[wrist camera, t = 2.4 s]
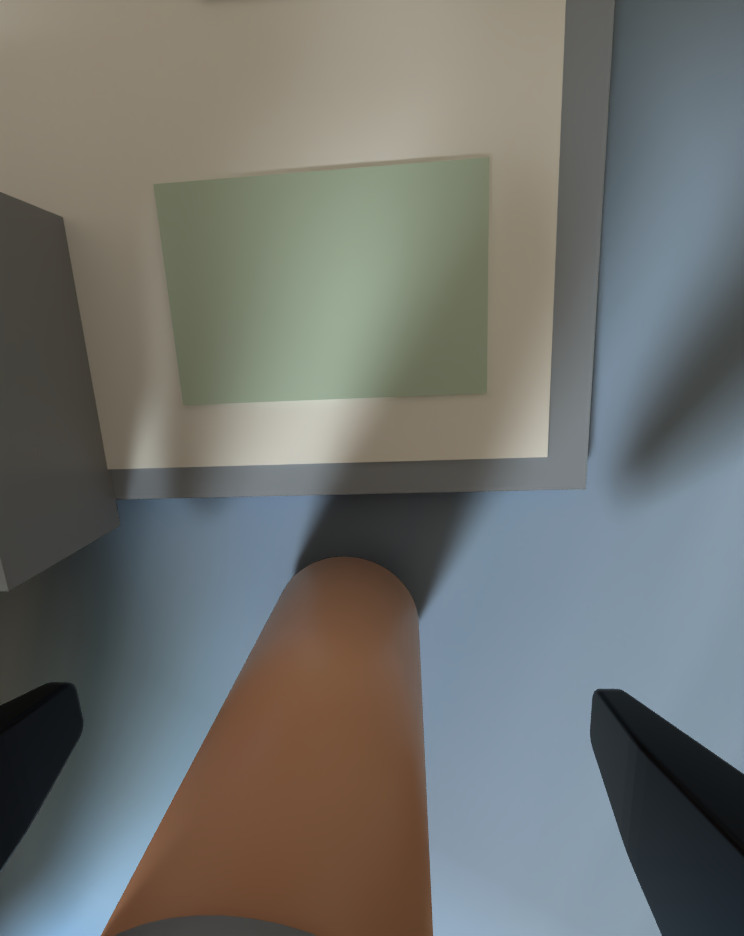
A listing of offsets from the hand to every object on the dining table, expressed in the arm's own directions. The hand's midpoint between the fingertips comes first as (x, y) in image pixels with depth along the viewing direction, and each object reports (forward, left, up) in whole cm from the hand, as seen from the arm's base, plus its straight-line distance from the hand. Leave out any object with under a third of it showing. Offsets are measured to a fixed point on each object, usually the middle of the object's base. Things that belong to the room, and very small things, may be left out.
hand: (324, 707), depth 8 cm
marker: (0, 0, -3) cm, 3 cm away
